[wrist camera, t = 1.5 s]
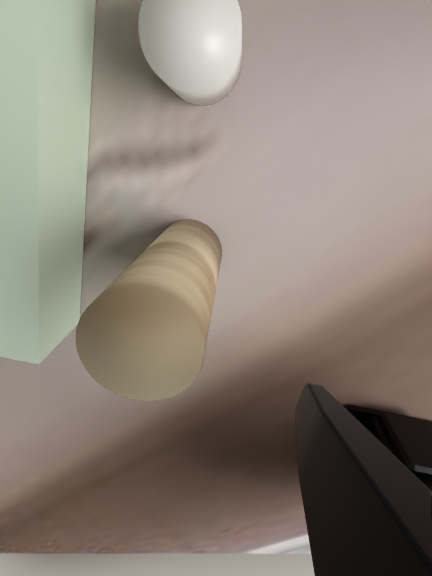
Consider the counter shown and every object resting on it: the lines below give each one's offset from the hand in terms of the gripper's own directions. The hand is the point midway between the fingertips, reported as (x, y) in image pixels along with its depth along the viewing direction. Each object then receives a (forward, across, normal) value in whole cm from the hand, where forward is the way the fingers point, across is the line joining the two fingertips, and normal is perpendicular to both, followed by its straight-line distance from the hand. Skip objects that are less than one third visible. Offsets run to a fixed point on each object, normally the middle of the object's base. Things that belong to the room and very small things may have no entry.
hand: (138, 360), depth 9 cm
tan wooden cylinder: (+10, 0, 0) cm, 11 cm away
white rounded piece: (+10, +1, -9) cm, 14 cm away
